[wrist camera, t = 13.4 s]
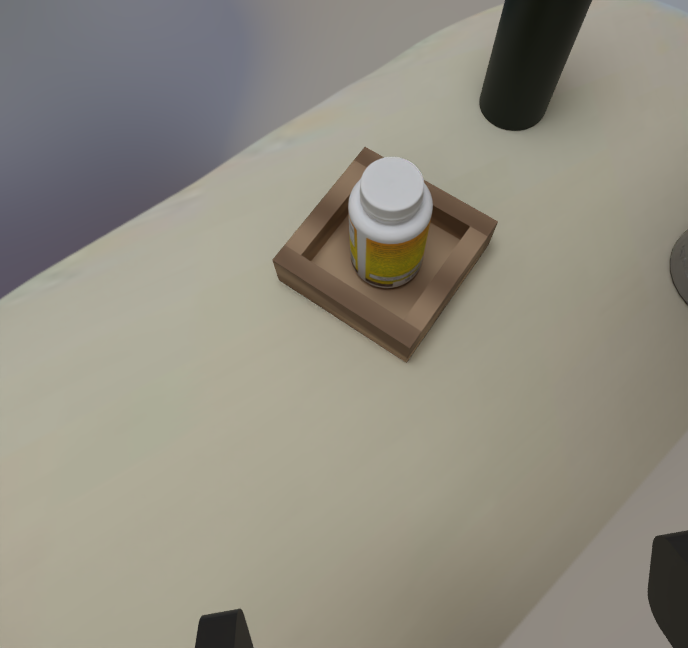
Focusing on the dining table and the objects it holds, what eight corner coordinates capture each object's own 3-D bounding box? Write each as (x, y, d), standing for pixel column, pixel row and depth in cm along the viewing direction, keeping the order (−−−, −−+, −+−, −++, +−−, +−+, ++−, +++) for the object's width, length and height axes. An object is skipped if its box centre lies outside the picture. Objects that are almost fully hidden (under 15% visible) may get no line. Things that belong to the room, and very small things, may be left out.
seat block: (364, 172, 50) (364, 146, 46) (488, 243, 47) (498, 221, 44) (279, 279, 47) (272, 259, 43) (406, 362, 44) (409, 348, 41)
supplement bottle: (437, 262, 46) (457, 187, 36) (382, 304, 44) (388, 239, 35) (389, 214, 47) (396, 130, 38) (335, 254, 46) (328, 178, 36)
